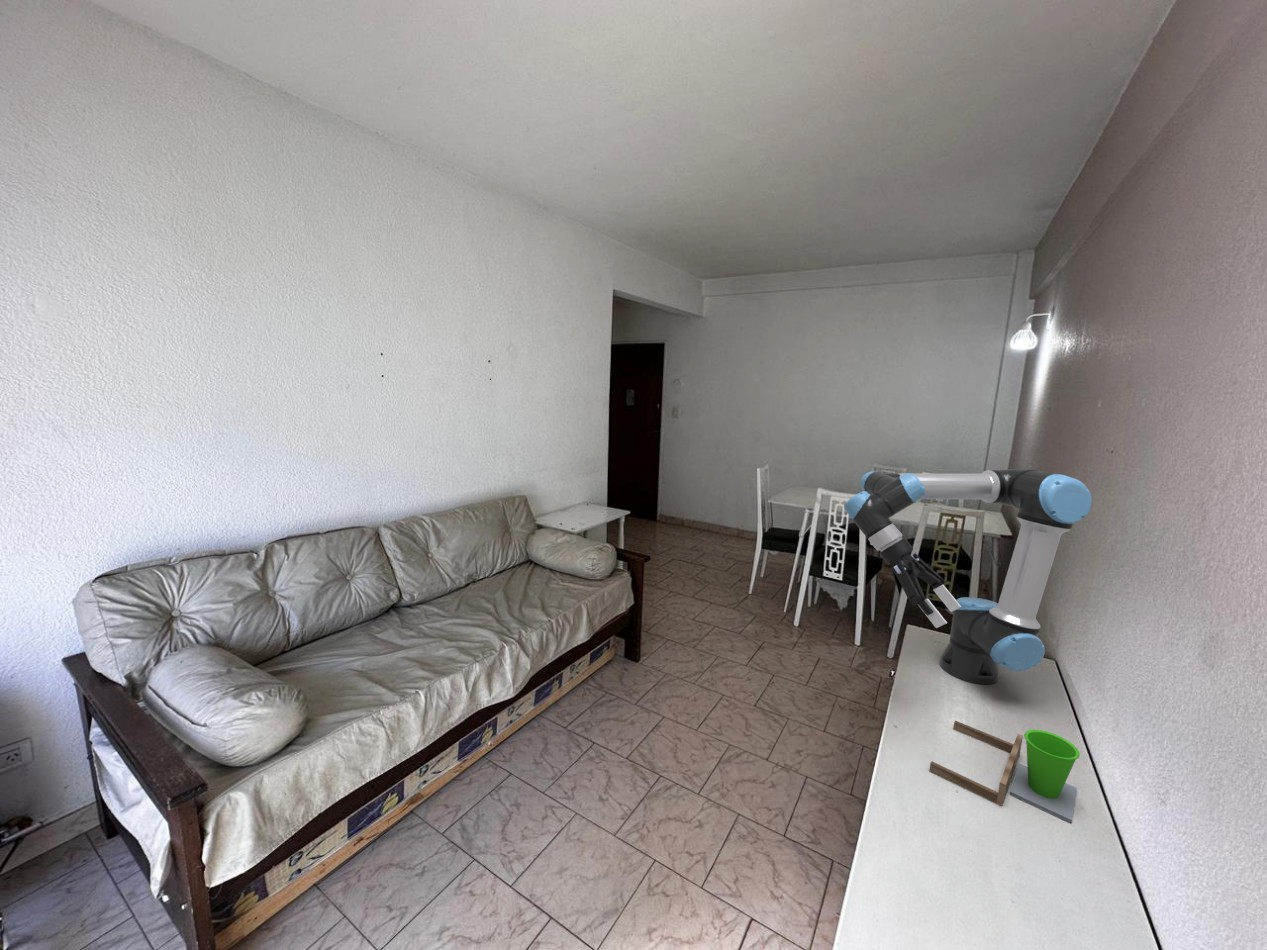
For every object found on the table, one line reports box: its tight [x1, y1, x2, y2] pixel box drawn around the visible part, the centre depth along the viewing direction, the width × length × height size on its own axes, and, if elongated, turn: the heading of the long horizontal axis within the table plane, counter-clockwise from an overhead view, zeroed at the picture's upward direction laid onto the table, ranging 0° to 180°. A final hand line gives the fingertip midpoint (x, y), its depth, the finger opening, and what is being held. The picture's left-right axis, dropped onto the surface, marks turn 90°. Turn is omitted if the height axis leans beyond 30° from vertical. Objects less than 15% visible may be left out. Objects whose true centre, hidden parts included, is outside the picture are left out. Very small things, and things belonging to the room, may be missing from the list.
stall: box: [929, 720, 1024, 807], centre depth 115 cm, size 22×14×5 cm, turn 135°
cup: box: [1023, 729, 1081, 799], centre depth 106 cm, size 9×9×11 cm
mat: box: [1009, 763, 1078, 824], centre depth 107 cm, size 12×10×1 cm
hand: (949, 617), depth 124 cm, fingers open, 13 cm apart
